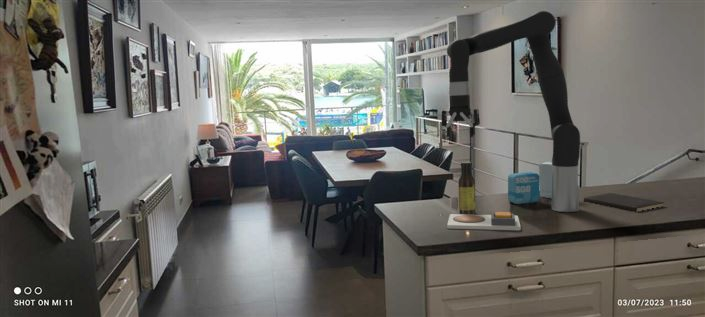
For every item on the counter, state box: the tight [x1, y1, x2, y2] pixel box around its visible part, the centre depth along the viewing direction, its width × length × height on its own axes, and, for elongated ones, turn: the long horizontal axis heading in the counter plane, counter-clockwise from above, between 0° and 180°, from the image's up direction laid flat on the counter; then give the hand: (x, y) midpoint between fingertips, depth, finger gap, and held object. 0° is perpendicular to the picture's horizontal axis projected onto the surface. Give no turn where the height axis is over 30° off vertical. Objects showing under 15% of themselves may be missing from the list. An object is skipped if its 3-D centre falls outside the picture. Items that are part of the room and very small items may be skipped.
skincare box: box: [538, 161, 552, 199], centre depth 220 cm, size 8×6×15 cm
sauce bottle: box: [457, 161, 477, 215], centre depth 195 cm, size 6×6×20 cm
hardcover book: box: [583, 192, 665, 213], centre depth 203 cm, size 16×23×2 cm
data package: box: [507, 171, 540, 205], centre depth 212 cm, size 12×4×12 cm, turn 106°
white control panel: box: [446, 212, 522, 231], centre depth 181 cm, size 24×16×4 cm, turn 76°
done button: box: [494, 211, 512, 218], centre depth 176 cm, size 5×5×2 cm
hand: (460, 137), depth 195 cm, fingers open, 8 cm apart
